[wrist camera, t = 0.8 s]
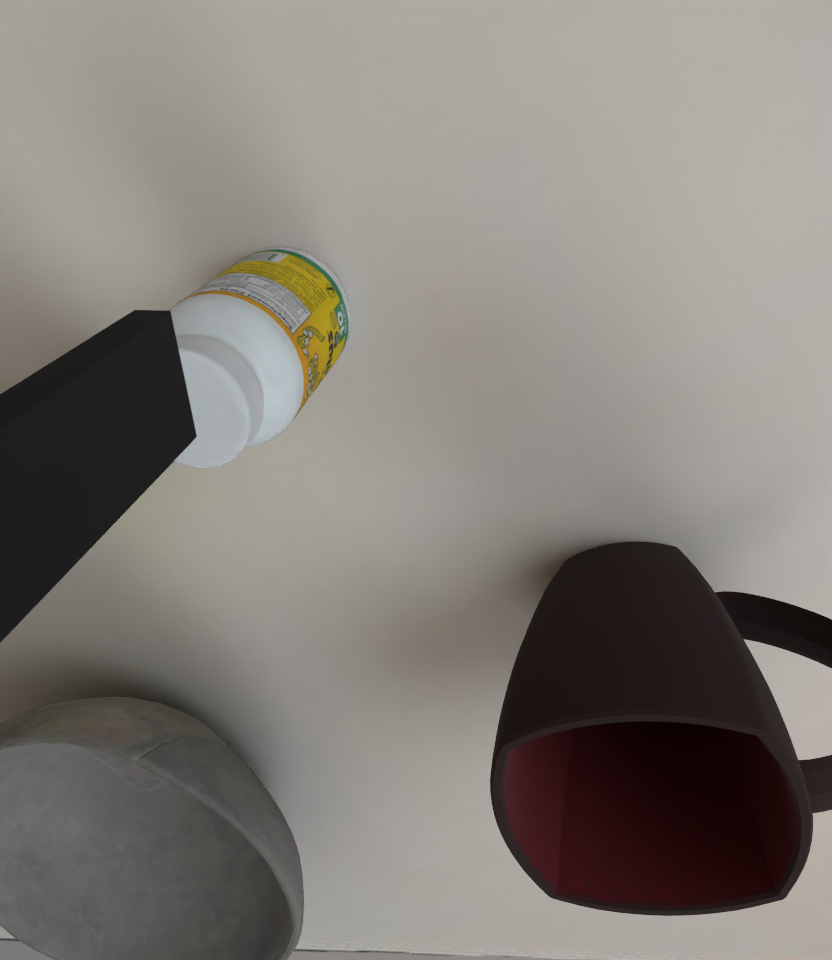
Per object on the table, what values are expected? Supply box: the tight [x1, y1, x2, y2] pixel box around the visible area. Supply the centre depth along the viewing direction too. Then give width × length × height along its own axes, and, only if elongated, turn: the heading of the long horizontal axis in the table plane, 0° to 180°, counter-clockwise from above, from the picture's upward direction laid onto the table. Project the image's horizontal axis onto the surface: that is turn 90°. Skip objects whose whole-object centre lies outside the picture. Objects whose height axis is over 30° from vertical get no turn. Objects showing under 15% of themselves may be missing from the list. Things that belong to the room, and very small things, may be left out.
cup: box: [490, 542, 832, 916], centre depth 29 cm, size 10×14×12 cm
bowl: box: [0, 696, 304, 960], centre depth 44 cm, size 21×21×8 cm
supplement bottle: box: [169, 247, 350, 468], centre depth 27 cm, size 5×5×10 cm
